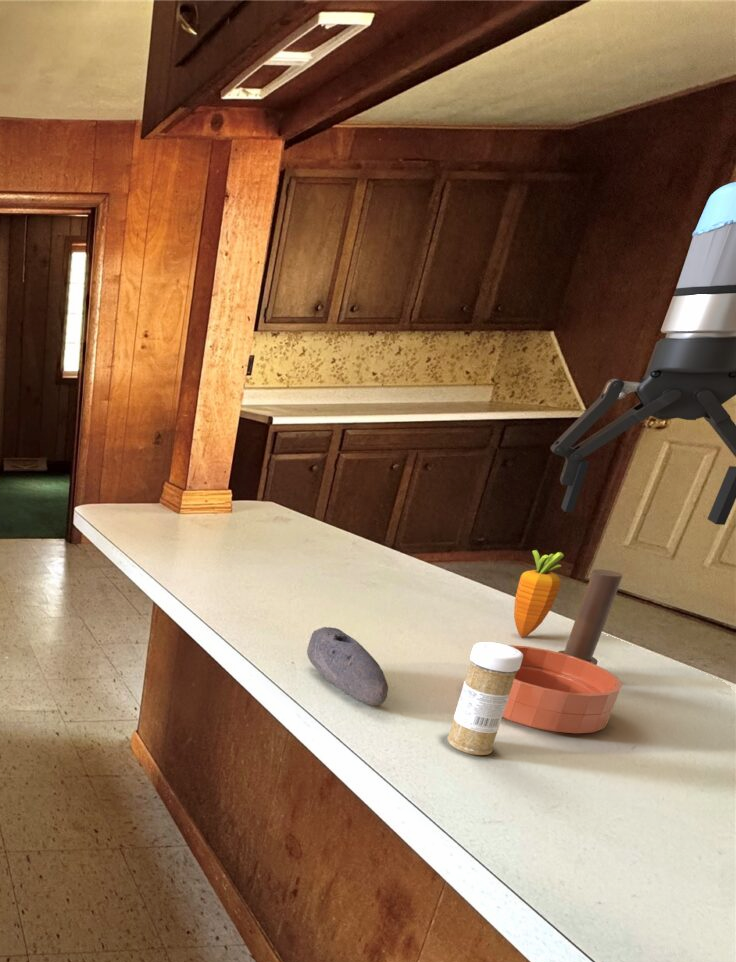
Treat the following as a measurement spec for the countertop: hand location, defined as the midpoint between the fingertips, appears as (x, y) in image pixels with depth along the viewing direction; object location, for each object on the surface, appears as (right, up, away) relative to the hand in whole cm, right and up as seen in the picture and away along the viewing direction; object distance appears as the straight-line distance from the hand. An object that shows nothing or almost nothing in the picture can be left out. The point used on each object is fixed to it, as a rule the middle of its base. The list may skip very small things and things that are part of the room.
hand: (638, 516), depth 83 cm
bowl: (-8, -25, +6) cm, 27 cm away
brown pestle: (+4, -22, +14) cm, 26 cm away
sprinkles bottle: (-23, -29, -2) cm, 37 cm away
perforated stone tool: (-30, -24, +12) cm, 40 cm away
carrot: (+8, -17, +26) cm, 32 cm away
